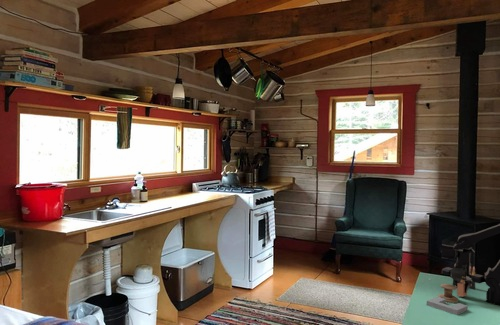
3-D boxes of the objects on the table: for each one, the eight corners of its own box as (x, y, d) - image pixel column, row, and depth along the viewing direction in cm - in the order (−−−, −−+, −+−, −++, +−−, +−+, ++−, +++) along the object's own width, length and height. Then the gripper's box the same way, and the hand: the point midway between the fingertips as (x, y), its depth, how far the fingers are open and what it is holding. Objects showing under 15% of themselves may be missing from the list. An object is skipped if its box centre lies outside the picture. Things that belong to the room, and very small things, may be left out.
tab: (466, 295, 204) (467, 283, 204) (463, 296, 201) (463, 284, 201) (460, 293, 206) (461, 281, 206) (456, 295, 204) (457, 283, 204)
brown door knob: (461, 300, 199) (462, 287, 198) (452, 304, 193) (453, 290, 193) (443, 295, 206) (444, 282, 205) (434, 298, 200) (434, 285, 200)
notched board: (467, 310, 186) (467, 305, 186) (456, 314, 180) (457, 310, 180) (437, 300, 197) (437, 296, 197) (426, 304, 191) (426, 300, 191)
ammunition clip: (452, 285, 222) (453, 263, 222) (453, 284, 224) (454, 262, 224) (474, 289, 216) (475, 267, 215) (475, 288, 217) (476, 266, 217)
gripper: (436, 258, 206) (435, 289, 206) (475, 267, 191) (474, 300, 192) (447, 255, 213) (446, 285, 213) (486, 264, 198) (484, 296, 198)
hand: (462, 292), depth 204 cm, fingers closed on tab, 3 cm apart
